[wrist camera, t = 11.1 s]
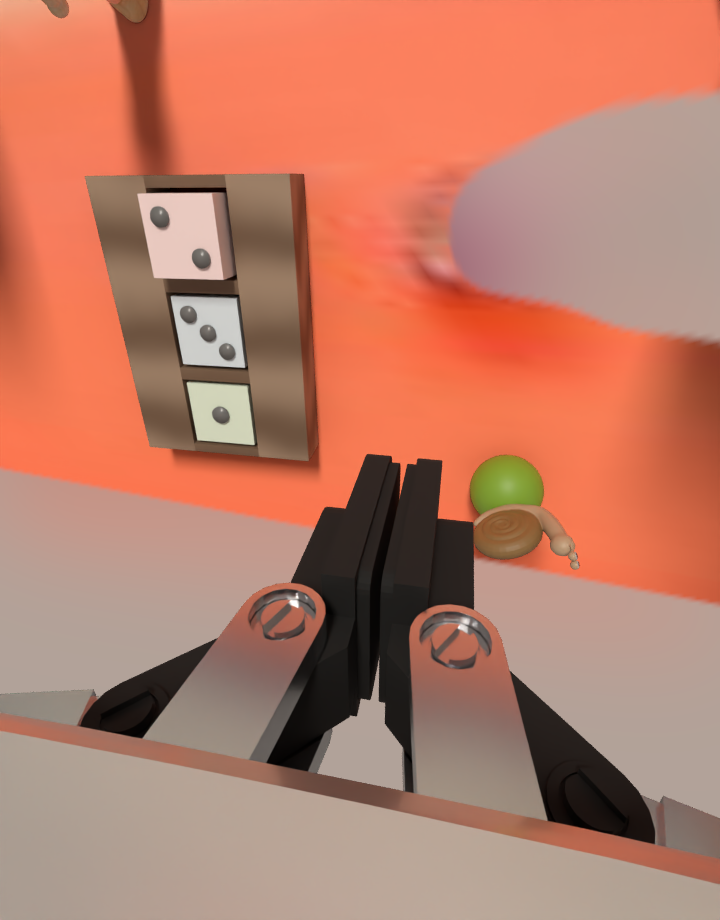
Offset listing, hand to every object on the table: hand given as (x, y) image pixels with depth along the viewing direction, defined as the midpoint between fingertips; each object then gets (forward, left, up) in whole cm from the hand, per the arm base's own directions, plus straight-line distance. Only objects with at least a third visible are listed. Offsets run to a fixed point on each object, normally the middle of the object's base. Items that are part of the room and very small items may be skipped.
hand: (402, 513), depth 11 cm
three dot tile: (+3, -17, -27) cm, 32 cm away
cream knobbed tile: (+9, -17, -27) cm, 33 cm away
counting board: (+3, -17, -27) cm, 32 cm away
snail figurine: (+14, +6, -27) cm, 31 cm away
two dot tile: (-4, -17, -25) cm, 31 cm away
